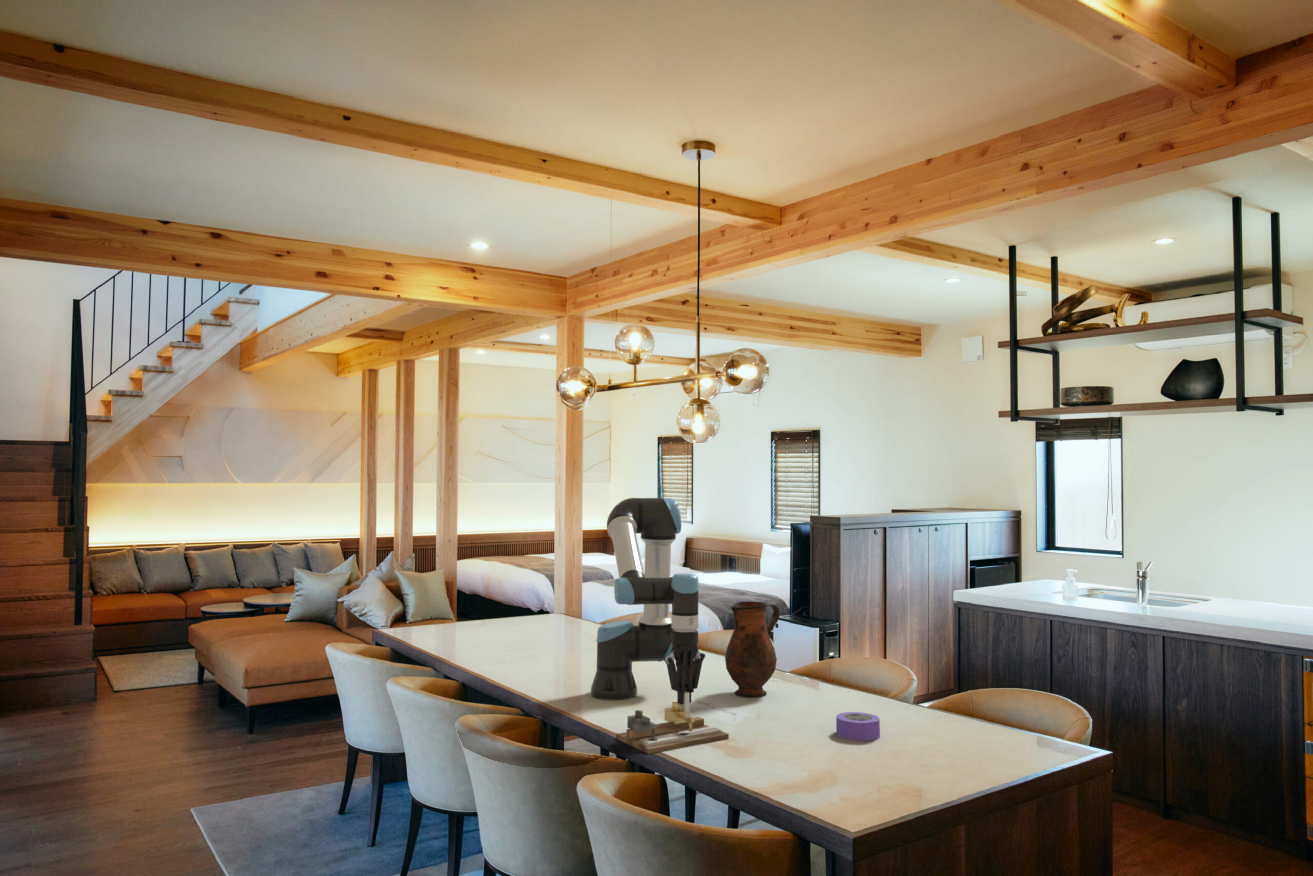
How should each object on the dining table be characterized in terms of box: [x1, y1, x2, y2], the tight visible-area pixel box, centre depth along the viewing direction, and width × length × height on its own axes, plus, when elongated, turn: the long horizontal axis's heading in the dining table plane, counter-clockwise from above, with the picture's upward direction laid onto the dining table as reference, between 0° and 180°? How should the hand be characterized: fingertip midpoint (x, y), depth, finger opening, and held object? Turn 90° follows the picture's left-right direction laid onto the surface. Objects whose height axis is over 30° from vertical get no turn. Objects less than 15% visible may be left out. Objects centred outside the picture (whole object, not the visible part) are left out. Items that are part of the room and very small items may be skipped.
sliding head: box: [664, 701, 695, 731], centre depth 232 cm, size 10×4×6 cm, turn 34°
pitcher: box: [724, 601, 780, 699], centre depth 283 cm, size 17×21×30 cm
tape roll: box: [835, 711, 881, 742], centre depth 236 cm, size 12×12×5 cm
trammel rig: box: [615, 709, 729, 755], centre depth 230 cm, size 16×26×8 cm, turn 124°
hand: (684, 715), depth 236 cm, fingers closed
